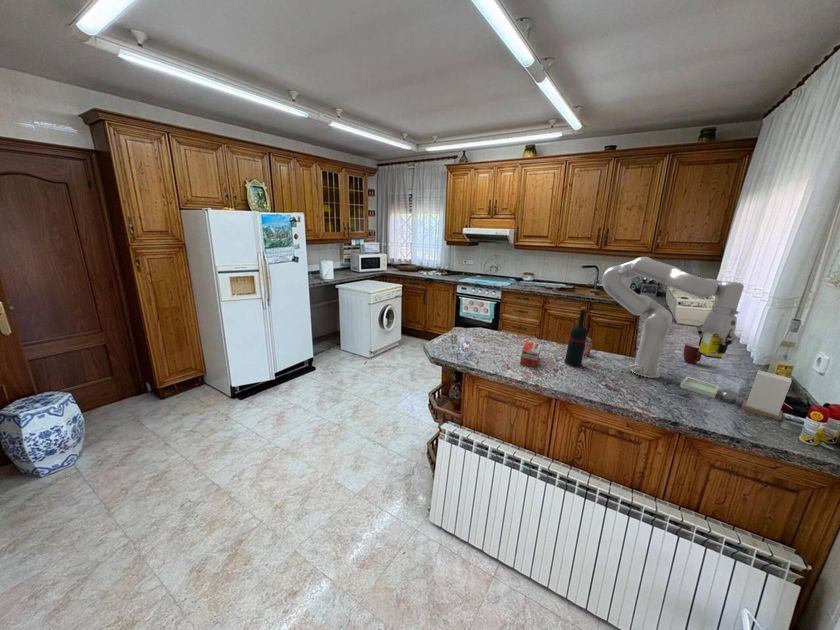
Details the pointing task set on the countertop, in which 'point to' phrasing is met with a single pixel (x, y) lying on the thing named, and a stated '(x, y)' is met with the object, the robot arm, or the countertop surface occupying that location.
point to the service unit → (767, 395)
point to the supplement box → (710, 345)
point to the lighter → (587, 347)
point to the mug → (691, 353)
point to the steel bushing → (728, 396)
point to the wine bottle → (577, 342)
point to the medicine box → (530, 354)
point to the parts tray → (700, 387)
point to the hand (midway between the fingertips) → (711, 349)
